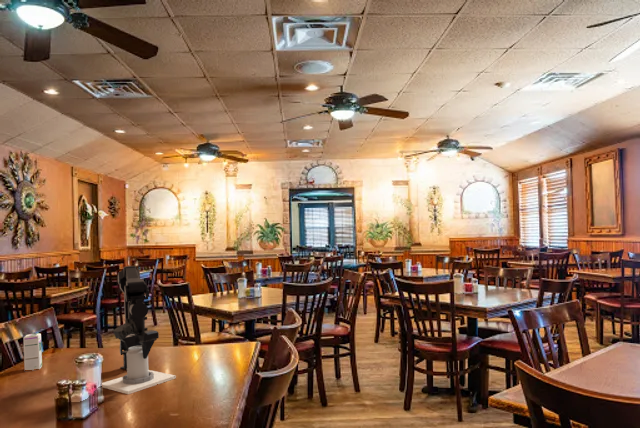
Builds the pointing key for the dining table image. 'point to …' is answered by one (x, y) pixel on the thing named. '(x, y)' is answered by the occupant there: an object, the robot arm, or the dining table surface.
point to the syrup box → (32, 351)
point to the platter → (137, 382)
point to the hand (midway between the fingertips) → (137, 357)
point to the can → (136, 363)
